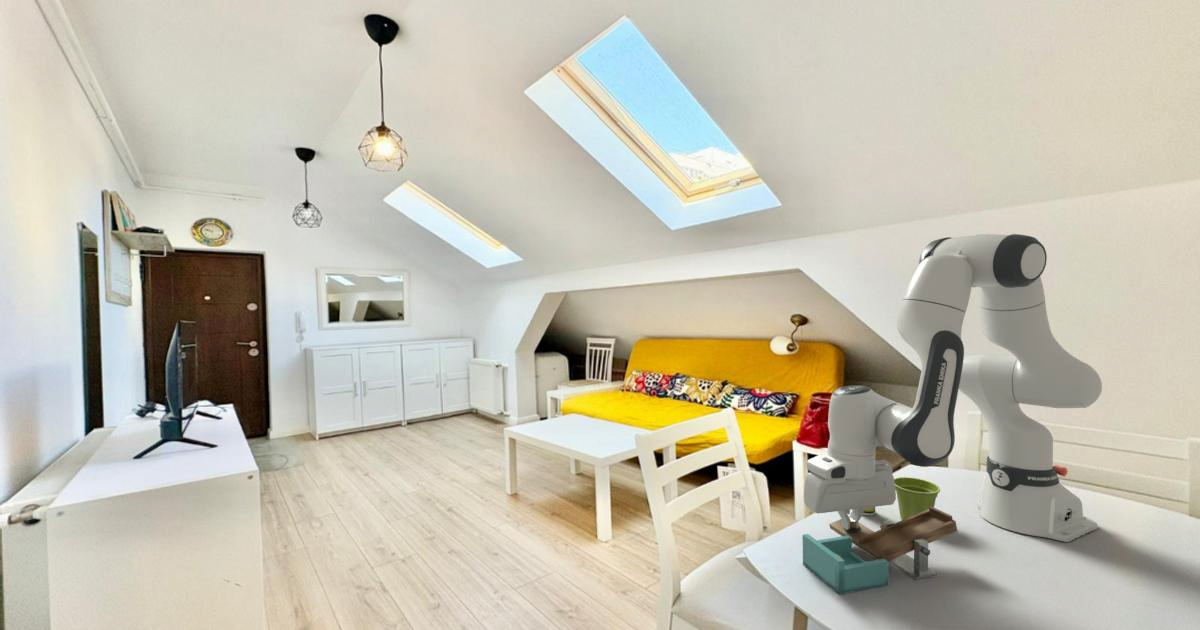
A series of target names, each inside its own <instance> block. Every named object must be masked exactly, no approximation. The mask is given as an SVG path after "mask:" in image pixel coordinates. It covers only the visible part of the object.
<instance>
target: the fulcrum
mask: <svg viewBox="0 0 1200 630" xmlns="http://www.w3.org/2000/svg"><path fill="white" fill-rule="evenodd" d="M895 523H896V522H893V521H891V520H888V521H887V520H885V521H882V522H881V524H880V526H879V528H880V530H881V529H883V528H885V527H888V526H890V525H892V524H895ZM929 555H931V550H930V549H929V543H928V542H927V541H926V540H924V539H918V540H914V550H913V558H912V557H911V556H910V555H908V554H907V553H906V554H904V555H902V556H900V557H897V558H895V559H893V560H891V561H888V562H889V564H891V565H892V566H894V567H895V568H896V569H898V570H900V571H901V572H903V573H904V574H906V575H908V576H909V577H911V578H912V579H914V580H915V581H917V580H923V579H929V578H933V577H938V572H936V571H934V570H932V569H931V568H929Z"/></svg>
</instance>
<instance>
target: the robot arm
mask: <svg viewBox="0 0 1200 630" xmlns="http://www.w3.org/2000/svg"><path fill="white" fill-rule="evenodd" d="M1047 257H1048V256H1047V250H1046V248H1045V246H1044V245H1043V244H1042V242H1040V241H1039V240H1038V238H1036V237H1034V236H1030V235H1025V234H1019V233H1018V234H1017V233H1012V234H995V233H992V234H990V233H988V234H987V233H986V234H985V233H984V234H983V233H982V234H975V235H968V236H966V235H965V236H957V237H950V236H949V237H943V238H938V239H935V240H933V241H931V242H929V243H928V244H927V245H926V246H925V247H924V249H923V250H922V252H921V254H920V257H919V260H918V266H917V268H916V269H915V270H914V273H913V275H912V277H911V279H910V281H909V283H908V285H907V287H906V289H905V291H904V295H903V297H902V300H901V303H900V305H899V306H900V307H899V310H898V314H897V323H896V329H897V332H898V333H899V335H900V336H901V338H902V339H903V341H904V342H905V343H907V345H909V346H910V347H911V348H912V349H914V350H913V351H915V352H916V354H917V355H918V357H919V359H920V363H921V371H920V376H919V381H918V387H917V392H916V396H915V402H914V405H913V407H911V406H908V405H906V404H904V403H903V404H902V403H900V402H897V401H894V400H892V399H889V398H887V397H884V396H882V395H880V394H878V393H877V392H875V391H874V390H872V388H871V387H869V386H865V385H846V386H842V387H838V388H836V389H835V390H834V391H833V392H832V394H831V396H830V400H829V404H828V407H829V408H828V415H827V416H828V417H827V418H828V419H827V427H828V431H829V440H828V444H827V450H824V451H823V452H821V453H820V454H818V455H816V456H814V457H811V458H809V459H808V460H806V469H807V470H808V471H809V472H807V474H806V476H805V480H804V484H803V486H804V487H803V502H804V504H805V506H806V507H807V508H808V509H809V510H810V511H812V512H814V513H815V514H825V513H832V512H833V513H834V512H837V514H838V515H839V517H840V518H841V519H842V527H843V528H845V529H847V530H848V529H855V528H858V524H859V523H860V522H859V521H860V520H861V518H862V516H864V515H863V513H864V508H868V507H875V508H877V507H883V506H893V504H894V503H895V501H896V499H897V492H896V490H895V482H894V479H895V477H894V474H893V470H894V469H893V466H892V464H891V463H890V462H889V461H887V460H885V459H881V460H876V449H877V448H878V447H885V448H887V449H888V450H889V451H892V452H894V453H896V454H897V455H898V456H900V457H901V458H902V459H904V460H905V461H907V462H908V463H910V464H911V465H914V466H916V467H923V468H929V467H933V466H936V465H939V464H940V463H942V462H944V461H945V460H946V459H947V458H948V457H949V456H950V455H951V453H952V452H953V449H954V447H955V439H956V436H955V424H954V423H955V421H954V419H955V411H956V410H955V409H956V405H957V400H958V395H959V391H960V392H961V393H962V394H963V395H965V396H966V397H968V399H970V400H971V401H972V402H973V403H974V405H976V407H977V408H978V409H979V411H980V412H981V415H982V416H983V418H984V421H985V423H986V427H987V437H988V456H987V457H986V461H985V466H986V472H987V474H985V476H983V482H982V489H981V497H980V498H981V499H980V500H977V502H976V506H977V508H978V509H979V515H980V516H981V517H982V518H983V519H984V520H985V521H987V522H989V523H991V524H993V525H995V526H998V527H999V528H1002V529H1005V530H1009V531H1011V532H1015V533H1019V534H1023V535H1027V536H1034V537H1041V538H1047V539H1052V540H1056V541H1061V542H1064V543H1065V542H1067V543H1069V542H1071V541H1074V540H1075V538H1076V539H1078V538H1080V537H1082V536H1084V535H1087V534H1088V532H1089V533H1091V532H1092V530H1093V531H1096V530H1097V529H1098V528H1099V525H1098V523H1097V522H1096V521H1094V520H1093V519H1090V518H1089V517H1087V516H1084V511H1083V510H1084V509H1083V503H1082V501H1081V499H1080V497H1079V496H1077V495H1076V494H1074V493H1073V492H1072V491H1070V490H1069V489H1068V488H1066V487H1065V486H1064V485H1062V484H1061V483H1060V479H1059V476H1061V477H1066V476H1067V474H1068V468H1067V467H1064V466H1059V465H1057V464H1055V465H1054V464H1053V463H1054V461H1053V460H1054V459H1053V458H1054V437H1053V435H1052V433H1051V431H1050V430H1049V429H1048V427H1046V426H1045V425H1044V424H1042V423H1040V422H1039V421H1037V420H1035V419H1032V418H1031V417H1029V416H1027V414H1026V413H1024V411H1023V410H1022V409H1021V407H1020V404H1024V405H1032V406H1037V407H1038V406H1039V407H1043V408H1044V407H1046V408H1052V409H1053V408H1054V409H1086V408H1089V407H1090V406H1092V405H1093V404H1094V403H1096V401H1097V400H1098V399H1099V398H1100V396H1101V394H1102V391H1103V389H1102V388H1103V382H1102V380H1101V377H1100V375H1099V373H1098V372H1097V371H1096V370H1095V369H1094V367H1093V366H1091V365H1089V364H1088V363H1086V362H1085V361H1084V362H1083V361H1082V360H1080V359H1078V358H1077V357H1075V356H1073V354H1071V353H1069V352H1068V351H1067V350H1066V349H1065V348H1064V347H1062V346H1061V344H1060V343H1059V342H1058V341H1057V340H1056V338H1055V337H1054V334H1053V333H1052V330H1051V326H1050V323H1049V318H1048V314H1047V313H1048V312H1047V306H1046V305H1047V303H1046V296H1045V289H1044V285H1043V281H1042V277H1041V276H1042V274H1043V273H1044V271H1045V268H1046V265H1047V259H1048V258H1047ZM972 288H977V289H978V290H977V291H978V292H977V293H978V294H977V295H978V305H979V313H980V319H981V326H982V327H981V328H982V333H983V335H984V336H985V337H986V339H988V341H989V342H991V343H992V344H994V345H996V346H999V347H1001V348H1003V349H1005V350H1007V351H1009V352H1010V353H1011V354H1012V355H1011V354H999V353H998V354H997V353H996V354H995V353H981V354H969V355H965V347H964V343H963V341H962V329H963V324H964V319H965V316H966V313H967V309H968V305H969V301H970V298H971V293H972ZM848 516H849V517H848ZM1090 531H1091V532H1090ZM1086 533H1087V534H1086ZM1081 535H1082V536H1081Z"/></svg>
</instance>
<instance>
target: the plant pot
mask: <svg viewBox="0 0 1200 630" xmlns="http://www.w3.org/2000/svg"><path fill="white" fill-rule="evenodd" d="M894 482H895V490H896V499H897V503H898V510H899V517H900V519H901V521H902V520H904V519H906V518H909V517H911V516H913V515H916V514H918V513H920V512H923V511H925V510H927V509H929V507H931V506H932V507H934V508H935V505H936V499H937V497H938V494H939V493H940V492H941V487H940V486H939V485H937V484H936V483H934V482H931V481H929V480H926V479H921V478H917V477H906V476H903V477H894Z"/></svg>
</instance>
